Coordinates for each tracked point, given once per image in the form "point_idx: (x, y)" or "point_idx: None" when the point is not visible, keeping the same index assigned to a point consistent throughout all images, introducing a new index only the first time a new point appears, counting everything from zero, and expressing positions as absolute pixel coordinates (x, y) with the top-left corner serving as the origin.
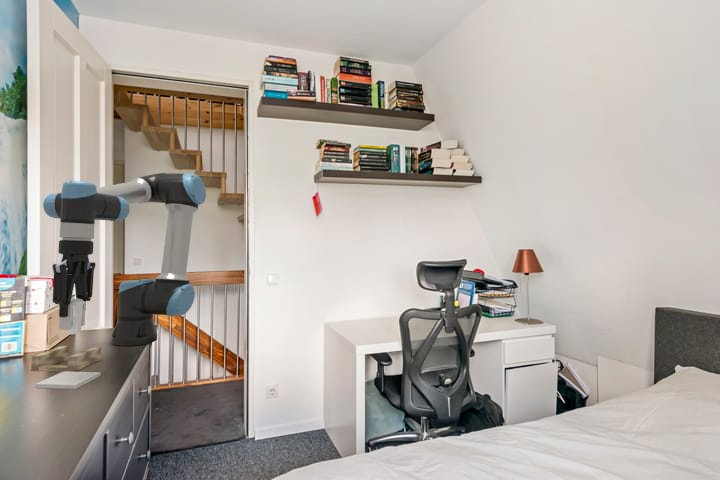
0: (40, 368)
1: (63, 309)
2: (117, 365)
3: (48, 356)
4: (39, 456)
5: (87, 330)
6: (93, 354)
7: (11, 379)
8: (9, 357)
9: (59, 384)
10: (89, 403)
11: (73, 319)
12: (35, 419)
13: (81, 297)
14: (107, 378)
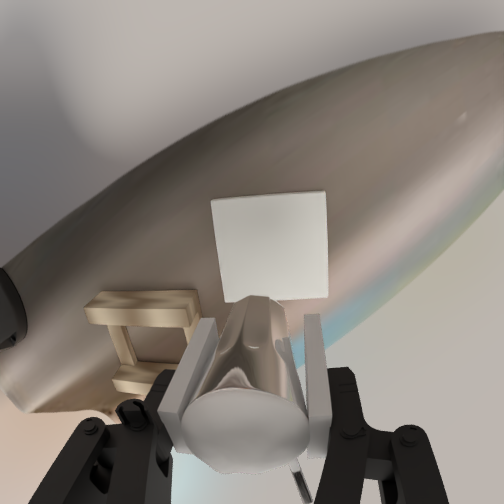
0: None
1: (359, 406)
2: (122, 217)
3: None
4: None
5: (15, 403)
6: (116, 302)
7: None
8: None
9: (326, 239)
10: (406, 94)
11: (288, 346)
12: (483, 157)
13: (156, 451)
14: (227, 165)
